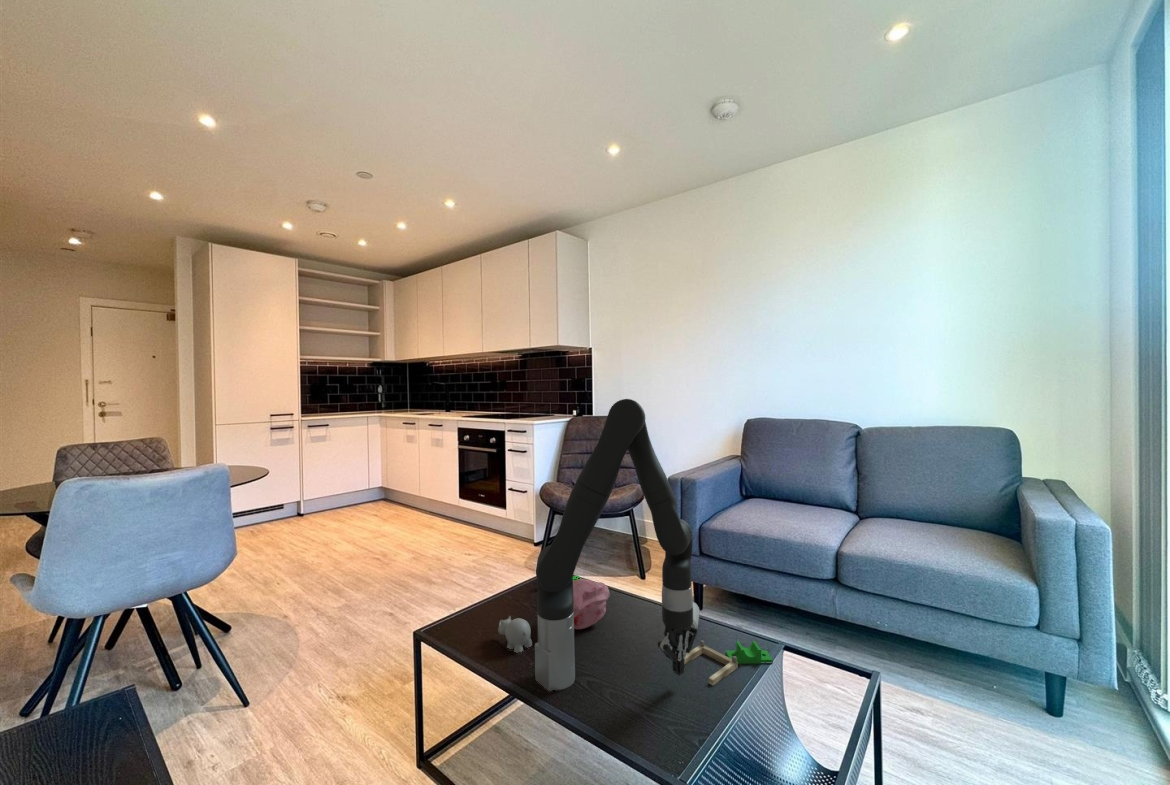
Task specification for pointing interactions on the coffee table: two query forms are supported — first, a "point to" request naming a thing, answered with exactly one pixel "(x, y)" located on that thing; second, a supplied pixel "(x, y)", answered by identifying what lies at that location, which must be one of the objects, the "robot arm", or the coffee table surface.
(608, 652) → the coffee table surface
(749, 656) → the pipe clamp
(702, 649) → the frame
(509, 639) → the rhino figurine
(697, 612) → the beverage can
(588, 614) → the decorative rock
